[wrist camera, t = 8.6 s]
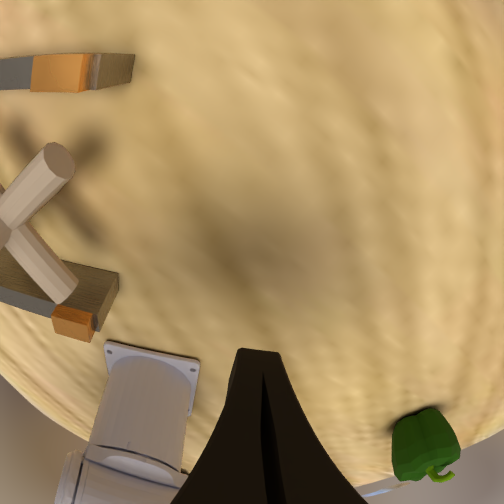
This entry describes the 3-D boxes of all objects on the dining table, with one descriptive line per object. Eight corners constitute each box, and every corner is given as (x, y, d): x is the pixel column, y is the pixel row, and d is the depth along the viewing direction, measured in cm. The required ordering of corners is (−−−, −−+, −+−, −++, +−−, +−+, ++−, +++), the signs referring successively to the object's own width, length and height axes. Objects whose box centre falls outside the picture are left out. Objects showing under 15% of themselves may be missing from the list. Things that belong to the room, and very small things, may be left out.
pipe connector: (-24, 165, 15) (-123, 244, 7) (61, 62, 13) (-85, 100, 4) (56, 270, 20) (-8, 381, 12) (158, 201, 18) (92, 337, 9)
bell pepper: (386, 440, 36) (400, 503, 27) (381, 418, 31) (398, 494, 23) (442, 418, 34) (462, 479, 25) (447, 392, 30) (473, 464, 21)
